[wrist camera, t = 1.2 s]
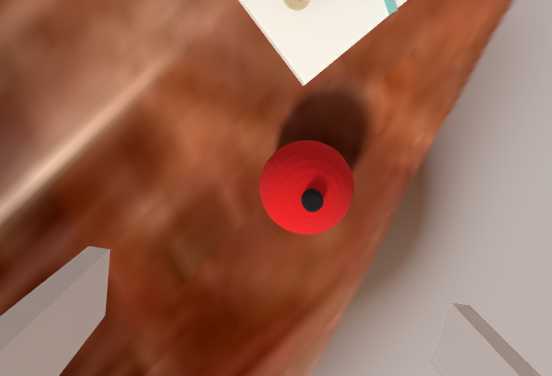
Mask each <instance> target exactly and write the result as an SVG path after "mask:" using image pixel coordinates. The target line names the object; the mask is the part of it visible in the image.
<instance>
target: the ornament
mask: <svg viewBox="0 0 552 376" xmlns="http://www.w3.org/2000/svg"><path fill="white" fill-rule="evenodd" d="M259 187H260V196H261V200H262V203H263V206H264V208H265V210H266V212H267V214H268V215H269V216H270V217H271V219H272V220H273V221H274V222H276V223H277V224H278V225H279V226H281V227H283V228H285V229H286V230H288V231H291V232H294V233H298V234H316V233H320V232H323V231H325V230H328V229H330V228H331V227H333V226H334V225H336V224H337V223H338V222H339V221H340V220H341V219H342V218H343V217H344V216H345V214H346V213H347V211H348V209H349V207H350V205H351V202H352V199H353V193H354V180H353V175H352V172H351V170H350V167H349V165H348V163H347V162H346V161H345V159H344V158H343V156H342V155H341V154H340V153H339V152H337V151H336V150H335V149H334V148H332V147H330V146H329V145H327V144H324V143H321V142H318V141H311V140H304V141H296V142H293V143H289V144H287V145H285V146H283V147H282V148H280V149H279V150H278V151H276V152H275V153H274V154H273V155H272V156H271V157H270V159H269V160H268V161H267V163H266V165H265V166H264V168H263V171H262V174H261V177H260V185H259Z"/></svg>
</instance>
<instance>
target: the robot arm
mask: <svg viewBox="0 0 552 376" xmlns="http://www.w3.org/2000/svg"><path fill="white" fill-rule="evenodd" d="M109 259H110V249H103V248H97V247H90V246H89V247H87V248H86V249H85V250H83V251H82V252H81V253H80V254H78V255H77V256H76V257H75V258H73V259H72V260H71V261H70V262H68V263H67V264H66V265H65V266H63V267H62V268H61V269H60V270H58V271H57V272H56V273H54V274H53V275H52V276H51V277H49V278H48V279H47V280H46V281H44V282H43V283H42V284H41V285H39V286H38V287H37V288H36V289H34V290H33V291H32V292H31V293H29V294H28V295H27V296H25V297H24V298H23V299H22V300H20V301H19V302H18V303H17V304H15V305H14V306H13V307H12V308H10V309H9V310H8V311H7V312H5V313H4V314H3V315H2V316H0V376H59V375H60V373H61V372H62V371H63V370H64V368H65V367H66V366H67V364H68V363H69V362H70V360H71V359H72V358H73V357H74V355H75V354H76V353H77V351H78V350H79V349H80V347H81V346H82V345H83V344H84V342H85V341H86V340H87V338H88V337H89V336H90V334H91V333H92V332H93V330H94V329H95V328H96V327H97V325H98V324H99V323H100V321H101V320H102V319H103V317H104V316H105V309H106V297H107V284H108V271H109ZM431 362H432V364H433V366H434V367H435V369H436V370H437V372H438V374H439V375H440V376H540V375H539V374H538V373H537V372H536V371H535V370H534V369H533V368H532V367H531V366H530V365H529V364H528V363H527V362H526V361H525V360H524V359H523V358H522V357H521V356H520V355H519V354H518V353H517V352H516V351H515V350H514V349H513V348H512V347H511V346H510V345H509V344H508V343H507V342H506V341H505V340H504V339H503V338H502V337H501V336H500V335H499V334H498V333H497V332H496V331H495V330H494V329H493V328H492V327H491V326H490V325H489V324H488V323H487V322H486V321H485V320H484V319H483V318H482V317H481V316H480V315H479V314H478V313H477V312H476V311H475V310H473V308H472V307H470V306H468V305H462V304H455V303H451V305H450V308H449V311H448V314H447V317H446V320H445V323H444V326H443V329H442V332H441V335H440V338H439V341H438V344H437V347H436V350H435V353H434V356H433V359H432V361H431Z"/></svg>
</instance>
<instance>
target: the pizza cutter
mask: <svg viewBox="0 0 552 376" xmlns="http://www.w3.org/2000/svg"><path fill="white" fill-rule="evenodd" d="M310 1H311V0H284V2H285V4H286V5H287V6H288V7H289V8H290V9H292V10H302V9H304V8H305V7H307V6H308V4H309V3H310Z"/></svg>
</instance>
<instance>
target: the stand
mask: <svg viewBox="0 0 552 376" xmlns="http://www.w3.org/2000/svg"><path fill="white" fill-rule="evenodd" d="M405 1H407V0H311V1H310V3H309V4H308V6H307V7H305V8H304V9H302V10H292V9H290V8H289V7H288V6H287V5H286V4H285V2H284V0H239V2H240V3H241V4H242V6H243V7H244V8H245V10H246V11H247V12H248V14H249V15H250V16H251V18H252V19H253V20H254V22H255V23H256V24H257V25H258V27H259V28H260V29H261V31H262V32H263V33H264V35H265V36H266V37H267V39H268V40H269V41H270V43H271V44H272V45H273V47H274V48H275V49H276V51H277V52H278V53H279V55H280V56H281V57H282V59H283V60H284V61H285V63H286V64H287V65H288V67H289V68H290V69H291V70H292V72H293V73H294V74H295V76H296V77H297V78H298V80H299V81H300V82H301V84H302V85H303V86H304V85H305V84H307V83H308V82H309V81H310V80H311V79H313V78H314V77H315V76H316V75H317V74H319V73H320V72H321V71H322V70H323V69H325V68H326V67H327V66H328V65H329V64H331V63H332V62H333V61H334V60H336V59H337V58H338V57H339V56H340V55H342V54H343V53H344V52H345V51H346V50H348V49H349V48H350V47H351V46H352V45H354V44H355V43H356V42H357V41H358V40H360V39H361V38H362V37H363V36H364V35H366V34H367V33H368V32H369V31H370V30H372V29H373V28H374V27H375V26H377V25H378V24H379V23H380V22H381V21H383V20H384V19H385V18H386V17H387V16H389V15H390V14H391V13H393V12H396V11H397V8H398V7H399V6H401V5H402V4H403V3H404V2H405Z"/></svg>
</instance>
